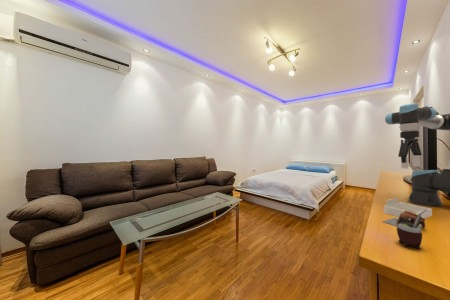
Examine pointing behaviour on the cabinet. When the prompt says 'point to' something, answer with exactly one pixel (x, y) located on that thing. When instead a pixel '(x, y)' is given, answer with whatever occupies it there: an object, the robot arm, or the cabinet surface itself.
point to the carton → (404, 208)
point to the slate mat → (394, 221)
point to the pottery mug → (406, 215)
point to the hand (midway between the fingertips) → (410, 167)
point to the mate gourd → (410, 233)
